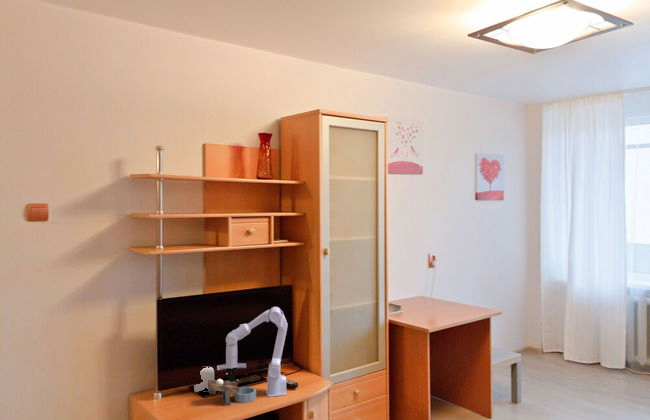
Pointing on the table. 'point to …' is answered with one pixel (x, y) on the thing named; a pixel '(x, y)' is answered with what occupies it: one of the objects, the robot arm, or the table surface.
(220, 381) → the ball
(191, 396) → the table surface
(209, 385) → the tipping ramp
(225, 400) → the lever stand
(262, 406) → the table surface
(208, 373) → the white upright shaped piece
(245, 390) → the blue-grey round bin
